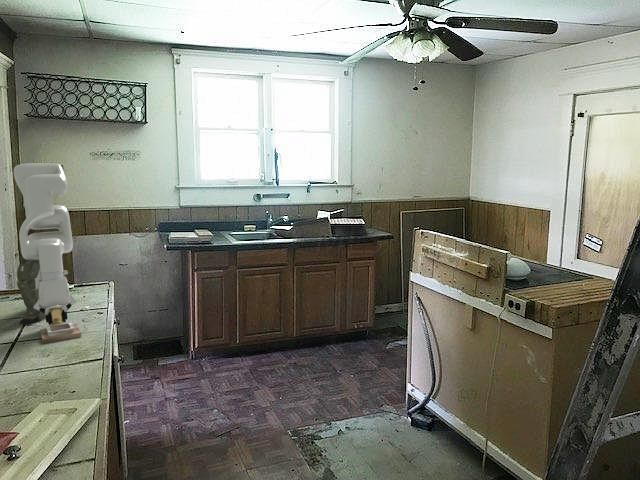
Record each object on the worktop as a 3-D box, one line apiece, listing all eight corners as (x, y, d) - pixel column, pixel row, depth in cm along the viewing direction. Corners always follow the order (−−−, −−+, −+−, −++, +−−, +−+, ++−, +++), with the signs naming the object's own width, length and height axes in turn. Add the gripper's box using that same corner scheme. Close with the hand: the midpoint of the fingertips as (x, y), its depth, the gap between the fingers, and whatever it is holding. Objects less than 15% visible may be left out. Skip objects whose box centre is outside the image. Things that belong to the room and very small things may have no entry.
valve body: (50, 325, 193) (48, 307, 192) (63, 323, 195) (61, 305, 194) (51, 329, 189) (49, 310, 188) (64, 326, 191) (62, 308, 190)
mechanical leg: (25, 325, 190) (31, 245, 192) (8, 324, 192) (15, 244, 194) (51, 322, 204) (57, 247, 206) (36, 321, 205) (41, 246, 207)
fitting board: (40, 334, 184) (39, 326, 183) (77, 327, 190) (76, 320, 190) (43, 343, 175) (42, 335, 174) (81, 336, 181) (80, 328, 181)
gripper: (76, 270, 196) (80, 316, 199) (25, 276, 187) (30, 324, 191) (78, 274, 190) (83, 321, 193) (26, 280, 181) (32, 329, 184)
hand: (57, 322), depth 192 cm, fingers closed on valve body, 4 cm apart
